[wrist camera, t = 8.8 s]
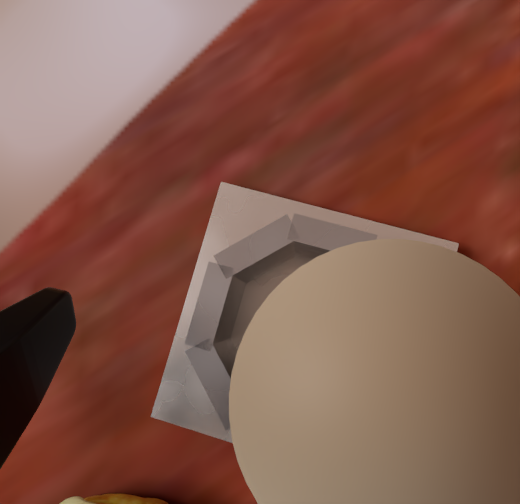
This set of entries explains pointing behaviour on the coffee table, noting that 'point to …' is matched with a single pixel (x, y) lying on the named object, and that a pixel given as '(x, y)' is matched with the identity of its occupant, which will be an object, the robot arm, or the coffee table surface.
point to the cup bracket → (245, 292)
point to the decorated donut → (113, 499)
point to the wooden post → (381, 381)
